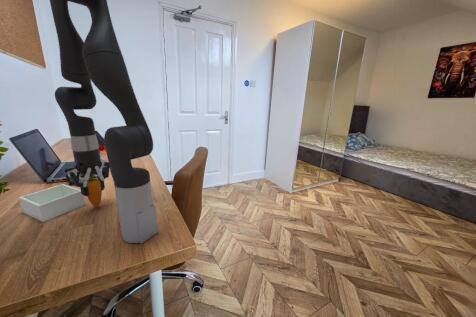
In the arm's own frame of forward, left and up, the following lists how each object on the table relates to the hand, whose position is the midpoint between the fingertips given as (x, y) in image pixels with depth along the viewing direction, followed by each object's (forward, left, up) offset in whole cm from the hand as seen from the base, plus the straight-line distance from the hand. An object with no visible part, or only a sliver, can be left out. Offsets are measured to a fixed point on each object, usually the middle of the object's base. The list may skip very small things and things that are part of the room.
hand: (94, 192), depth 77 cm
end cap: (+34, -12, -7) cm, 37 cm away
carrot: (0, 0, -7) cm, 7 cm away
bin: (+13, +7, -6) cm, 16 cm away
